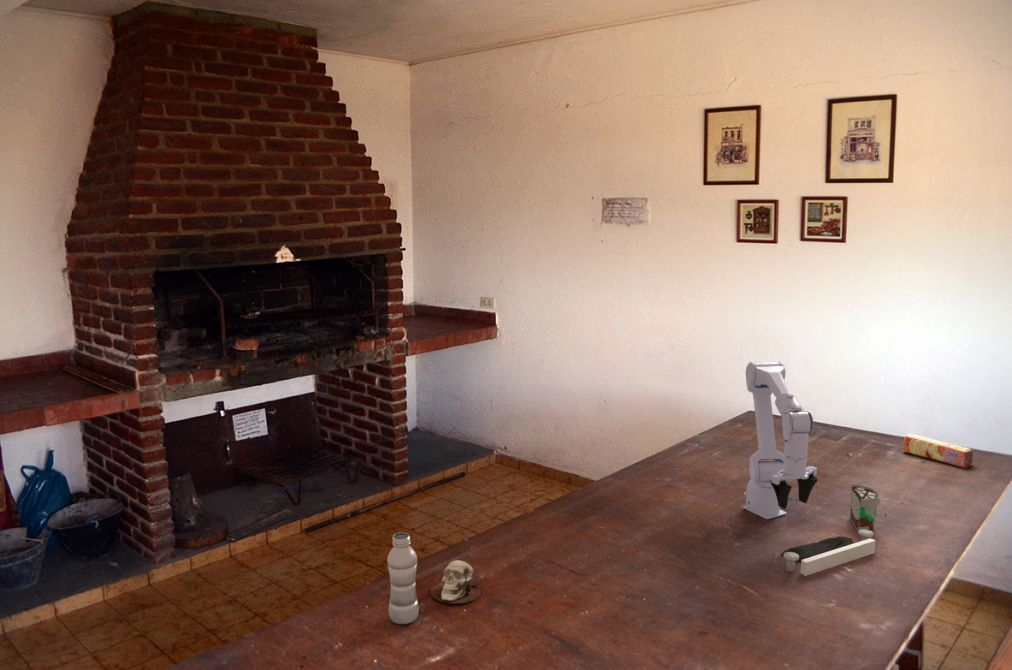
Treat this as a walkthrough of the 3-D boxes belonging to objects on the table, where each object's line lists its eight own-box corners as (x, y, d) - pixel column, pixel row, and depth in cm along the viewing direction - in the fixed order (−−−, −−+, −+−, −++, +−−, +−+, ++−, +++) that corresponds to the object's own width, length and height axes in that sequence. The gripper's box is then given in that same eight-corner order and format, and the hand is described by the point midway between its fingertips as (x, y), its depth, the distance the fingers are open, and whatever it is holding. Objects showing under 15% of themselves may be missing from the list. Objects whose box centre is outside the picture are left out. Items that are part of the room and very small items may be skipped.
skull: (469, 608, 178) (441, 570, 179) (441, 627, 183) (415, 591, 184) (494, 582, 188) (468, 547, 189) (468, 601, 193) (442, 567, 194)
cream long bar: (779, 569, 195) (780, 554, 195) (863, 542, 209) (864, 528, 208) (797, 578, 191) (797, 563, 190) (881, 550, 204) (883, 536, 204)
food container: (883, 536, 213) (886, 501, 211) (858, 534, 214) (861, 500, 212) (871, 517, 224) (874, 484, 223) (848, 516, 226) (851, 483, 224)
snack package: (973, 465, 265) (975, 446, 264) (964, 470, 261) (966, 450, 260) (910, 449, 282) (911, 431, 280) (900, 453, 278) (902, 434, 277)
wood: (798, 569, 196) (799, 557, 196) (778, 556, 203) (779, 545, 202) (867, 553, 204) (868, 542, 203) (845, 541, 211) (846, 531, 210)
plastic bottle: (389, 613, 178) (386, 530, 174) (419, 611, 178) (416, 529, 174) (388, 629, 171) (384, 543, 167) (419, 627, 172) (416, 541, 168)
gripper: (787, 465, 200) (784, 515, 203) (827, 455, 207) (824, 504, 210) (766, 457, 207) (764, 505, 209) (806, 448, 213) (803, 495, 216)
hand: (792, 504), depth 210 cm, fingers open, 7 cm apart
